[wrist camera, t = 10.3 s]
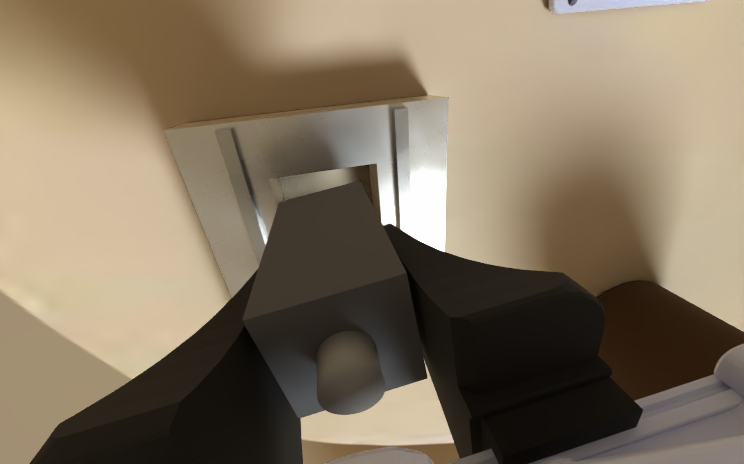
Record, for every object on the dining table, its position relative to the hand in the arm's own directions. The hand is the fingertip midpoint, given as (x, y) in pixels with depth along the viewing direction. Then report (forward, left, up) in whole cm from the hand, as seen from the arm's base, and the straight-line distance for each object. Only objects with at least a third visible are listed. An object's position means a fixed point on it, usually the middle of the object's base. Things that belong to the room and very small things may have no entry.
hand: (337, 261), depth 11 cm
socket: (0, +2, -6) cm, 7 cm away
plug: (0, 0, -2) cm, 2 cm away
